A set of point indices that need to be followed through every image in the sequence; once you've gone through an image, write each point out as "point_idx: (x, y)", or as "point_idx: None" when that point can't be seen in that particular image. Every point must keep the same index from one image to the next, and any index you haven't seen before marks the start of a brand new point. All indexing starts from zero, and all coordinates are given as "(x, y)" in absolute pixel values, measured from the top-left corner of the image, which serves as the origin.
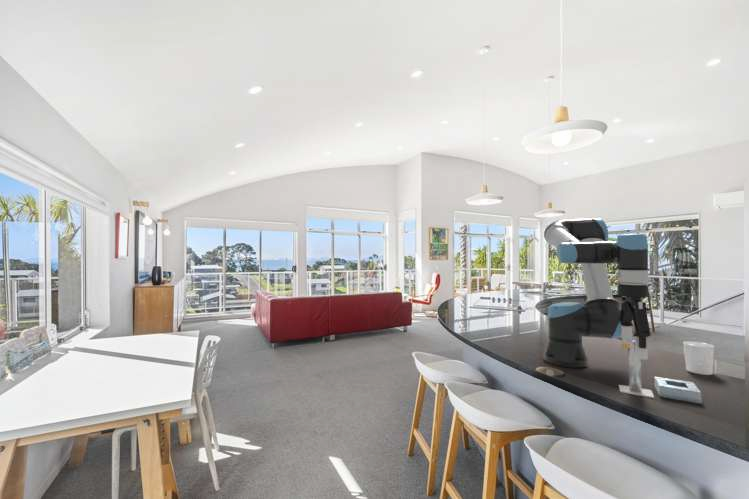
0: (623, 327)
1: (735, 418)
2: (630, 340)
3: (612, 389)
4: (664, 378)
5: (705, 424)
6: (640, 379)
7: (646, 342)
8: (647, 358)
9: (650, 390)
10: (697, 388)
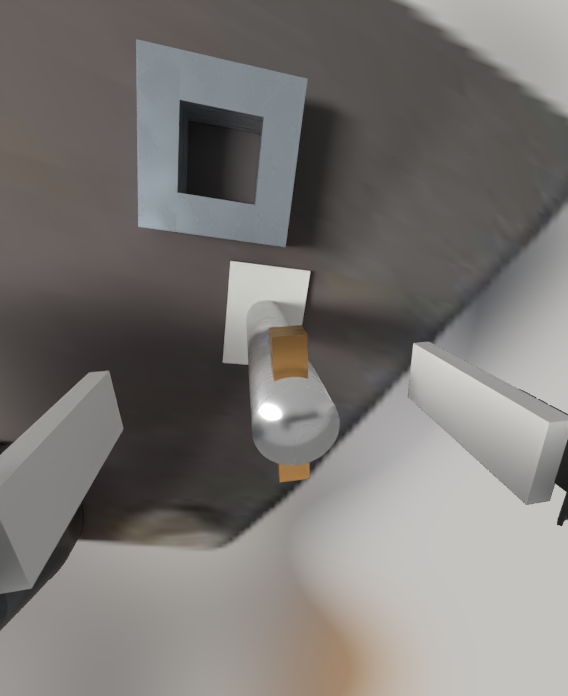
0: (37, 562)
1: (412, 34)
2: (272, 448)
3: None
4: (147, 184)
5: (489, 182)
6: (284, 316)
7: (521, 397)
8: (433, 345)
9: (237, 264)
10: (249, 68)
